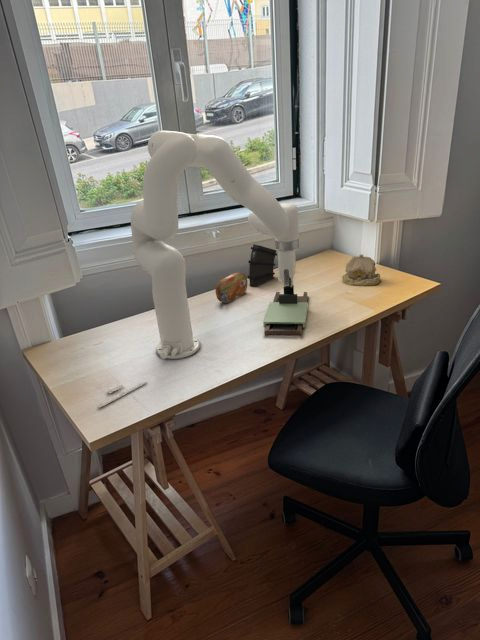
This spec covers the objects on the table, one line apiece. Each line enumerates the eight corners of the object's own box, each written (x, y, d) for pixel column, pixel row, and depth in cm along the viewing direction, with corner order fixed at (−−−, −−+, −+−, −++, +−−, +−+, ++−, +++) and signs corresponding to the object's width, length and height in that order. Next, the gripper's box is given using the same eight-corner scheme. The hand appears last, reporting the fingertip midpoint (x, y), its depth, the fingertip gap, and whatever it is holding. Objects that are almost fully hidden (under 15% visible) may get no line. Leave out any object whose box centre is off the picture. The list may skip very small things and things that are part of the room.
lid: (304, 327, 153) (304, 313, 151) (263, 327, 155) (262, 313, 153) (307, 307, 166) (307, 293, 164) (269, 307, 168) (269, 293, 166)
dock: (301, 338, 150) (300, 330, 149) (264, 337, 152) (264, 330, 151) (307, 298, 176) (307, 291, 175) (276, 298, 178) (276, 291, 177)
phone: (295, 333, 151) (294, 331, 151) (271, 333, 152) (271, 331, 152) (298, 314, 163) (298, 311, 163) (276, 314, 164) (276, 311, 164)
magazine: (242, 283, 188) (251, 243, 185) (264, 287, 198) (273, 250, 195) (249, 285, 186) (259, 245, 183) (271, 289, 196) (281, 251, 193)
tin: (222, 306, 174) (219, 283, 170) (215, 304, 176) (212, 282, 172) (248, 291, 185) (247, 270, 180) (242, 290, 186) (240, 268, 182)
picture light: (99, 409, 124) (98, 401, 123) (90, 402, 127) (88, 395, 126) (145, 384, 133) (144, 377, 132) (136, 378, 135) (134, 372, 134)
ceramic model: (339, 284, 186) (339, 258, 181) (345, 273, 195) (346, 248, 190) (377, 287, 181) (378, 260, 176) (382, 276, 190) (383, 250, 185)
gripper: (277, 237, 165) (280, 288, 174) (272, 251, 152) (275, 306, 161) (300, 236, 164) (301, 288, 173) (297, 251, 151) (298, 306, 160)
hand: (289, 297), depth 167 cm, fingers closed
